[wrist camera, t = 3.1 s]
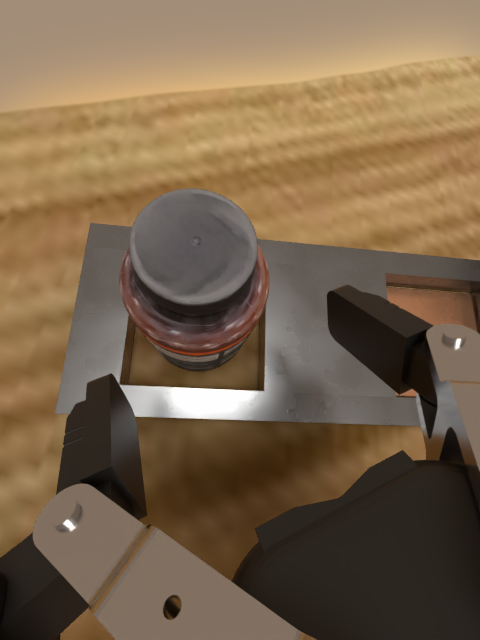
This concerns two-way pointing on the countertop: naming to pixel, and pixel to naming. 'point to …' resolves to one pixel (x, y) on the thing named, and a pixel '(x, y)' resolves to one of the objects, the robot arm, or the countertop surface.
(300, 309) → the plate with square holes
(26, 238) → the countertop surface
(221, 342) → the supplement bottle
